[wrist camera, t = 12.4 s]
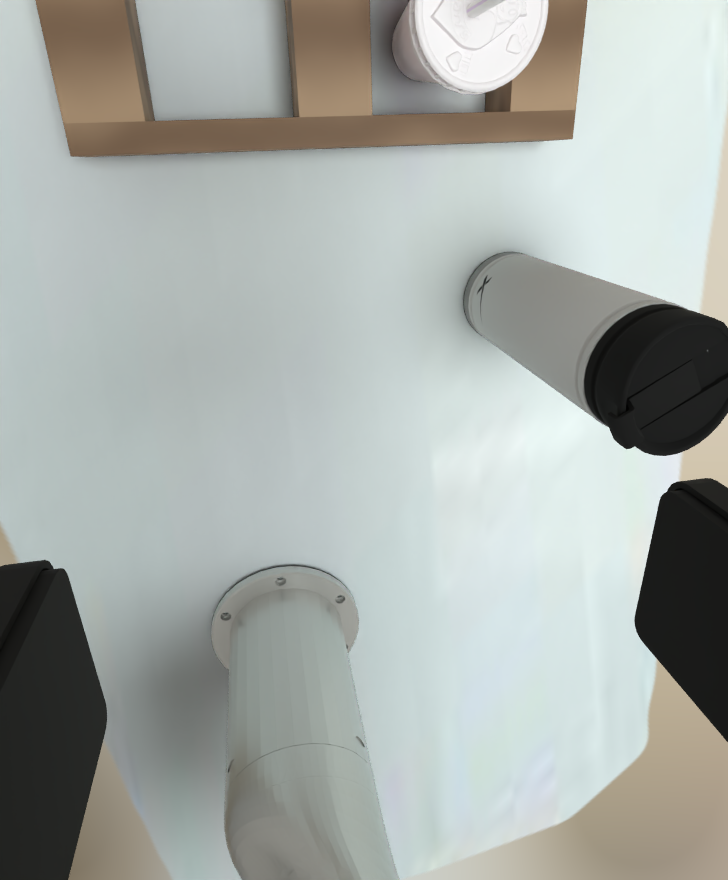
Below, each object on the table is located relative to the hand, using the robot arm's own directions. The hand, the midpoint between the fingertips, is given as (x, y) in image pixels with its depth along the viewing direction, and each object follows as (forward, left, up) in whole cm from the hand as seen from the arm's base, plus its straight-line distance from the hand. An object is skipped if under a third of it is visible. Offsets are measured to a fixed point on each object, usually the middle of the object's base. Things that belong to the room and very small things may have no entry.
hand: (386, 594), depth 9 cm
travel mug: (-3, -16, -33) cm, 37 cm away
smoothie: (+12, -10, -33) cm, 36 cm away
